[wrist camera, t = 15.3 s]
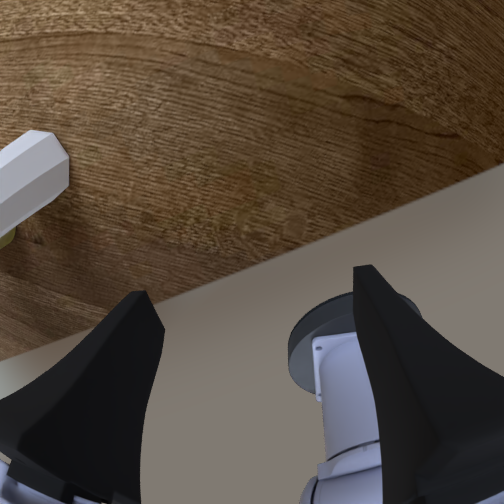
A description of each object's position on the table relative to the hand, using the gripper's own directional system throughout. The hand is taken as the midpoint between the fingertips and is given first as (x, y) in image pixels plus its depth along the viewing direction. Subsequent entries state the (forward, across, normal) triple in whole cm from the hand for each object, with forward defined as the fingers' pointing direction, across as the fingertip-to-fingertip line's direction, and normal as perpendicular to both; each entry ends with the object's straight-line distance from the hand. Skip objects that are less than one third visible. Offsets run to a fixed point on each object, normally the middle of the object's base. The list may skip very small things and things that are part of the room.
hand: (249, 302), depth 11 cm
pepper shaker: (+10, +14, -5) cm, 18 cm away
